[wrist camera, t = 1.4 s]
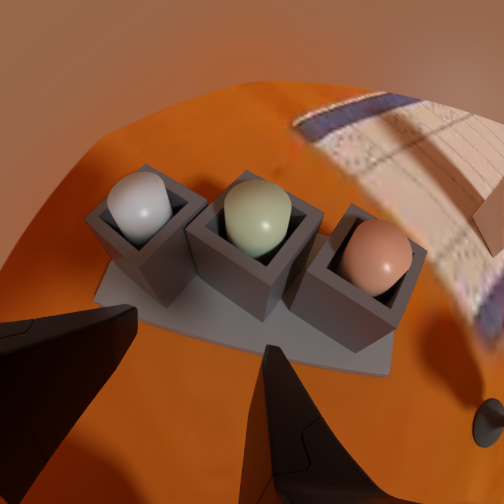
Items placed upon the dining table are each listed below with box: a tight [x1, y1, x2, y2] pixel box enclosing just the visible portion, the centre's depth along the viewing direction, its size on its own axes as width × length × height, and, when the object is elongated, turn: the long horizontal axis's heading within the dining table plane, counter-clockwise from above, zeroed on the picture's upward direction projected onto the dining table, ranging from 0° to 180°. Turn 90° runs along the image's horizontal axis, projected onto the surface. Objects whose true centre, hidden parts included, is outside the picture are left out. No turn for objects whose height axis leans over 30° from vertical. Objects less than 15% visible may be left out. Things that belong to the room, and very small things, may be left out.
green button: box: [224, 180, 292, 266], centre depth 18 cm, size 4×4×4 cm
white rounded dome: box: [107, 172, 174, 251], centre depth 18 cm, size 4×4×4 cm
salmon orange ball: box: [334, 219, 412, 300], centre depth 17 cm, size 4×4×4 cm
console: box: [84, 164, 427, 377], centre depth 21 cm, size 11×24×8 cm, turn 76°
